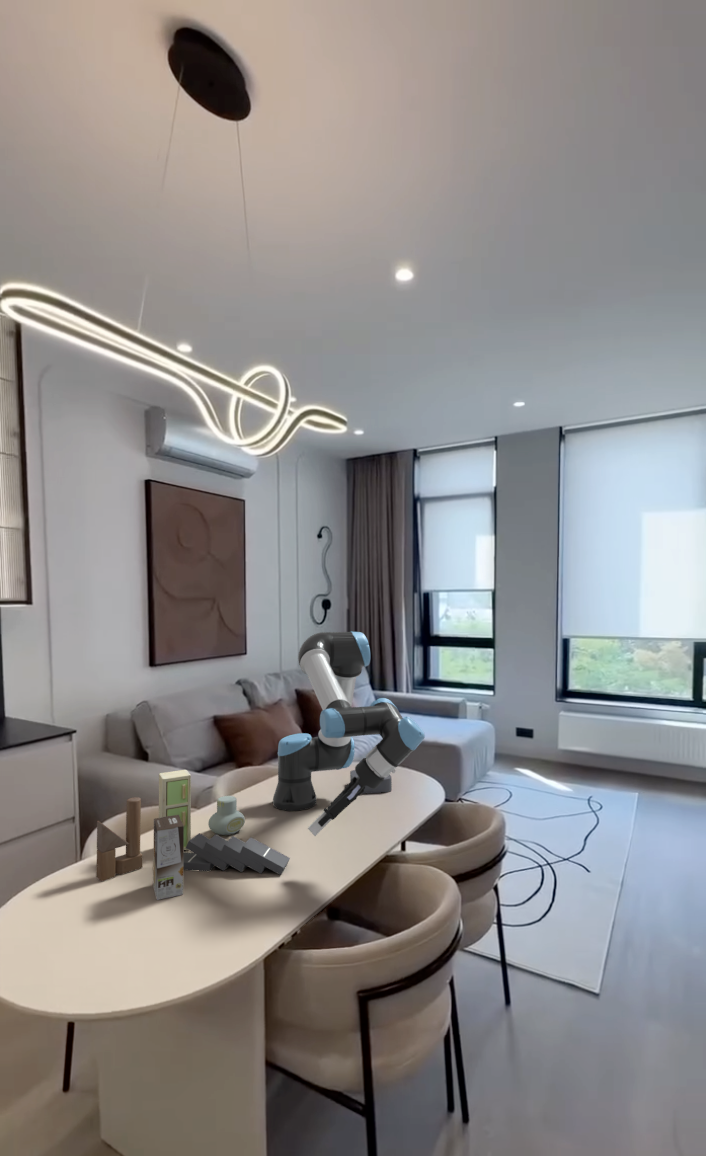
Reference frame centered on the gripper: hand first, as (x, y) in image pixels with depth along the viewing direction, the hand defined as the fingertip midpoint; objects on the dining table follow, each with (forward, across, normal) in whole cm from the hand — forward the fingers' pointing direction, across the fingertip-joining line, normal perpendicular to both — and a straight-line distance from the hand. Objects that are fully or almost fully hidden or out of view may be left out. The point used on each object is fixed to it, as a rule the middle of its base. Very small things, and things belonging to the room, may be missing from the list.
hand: (312, 831), depth 148 cm
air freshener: (+30, +23, +15) cm, 41 cm away
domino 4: (+15, 0, +2) cm, 15 cm away
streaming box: (+2, +72, -13) cm, 73 cm away
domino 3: (+19, 0, +6) cm, 20 cm away
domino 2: (+22, 0, +9) cm, 24 cm away
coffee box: (+31, -13, +16) cm, 37 cm away
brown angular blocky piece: (+42, -6, +28) cm, 51 cm away
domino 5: (+12, 0, -2) cm, 12 cm away
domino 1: (+25, 0, +12) cm, 28 cm away
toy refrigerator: (+37, +9, +22) cm, 44 cm away
